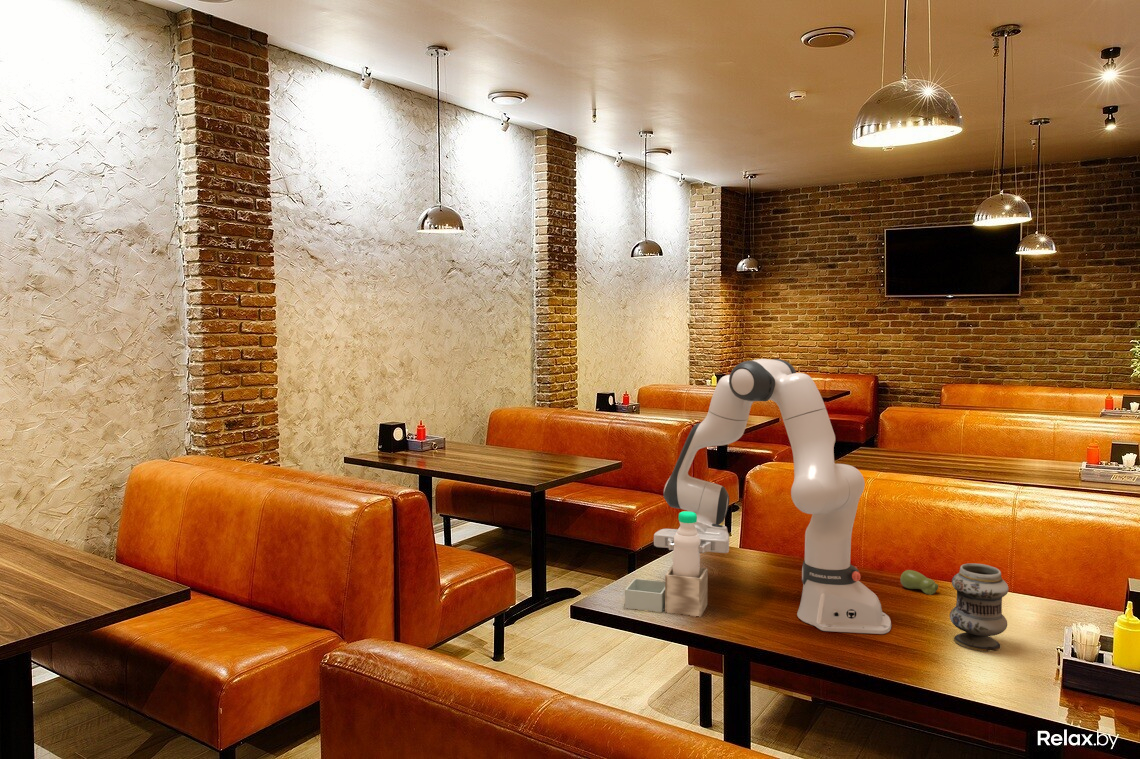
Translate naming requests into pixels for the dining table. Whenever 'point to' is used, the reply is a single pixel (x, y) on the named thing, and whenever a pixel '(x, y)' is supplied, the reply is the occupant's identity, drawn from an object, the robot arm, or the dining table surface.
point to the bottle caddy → (645, 595)
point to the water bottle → (686, 547)
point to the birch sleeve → (686, 593)
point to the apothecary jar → (979, 606)
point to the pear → (918, 582)
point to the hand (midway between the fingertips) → (686, 548)
